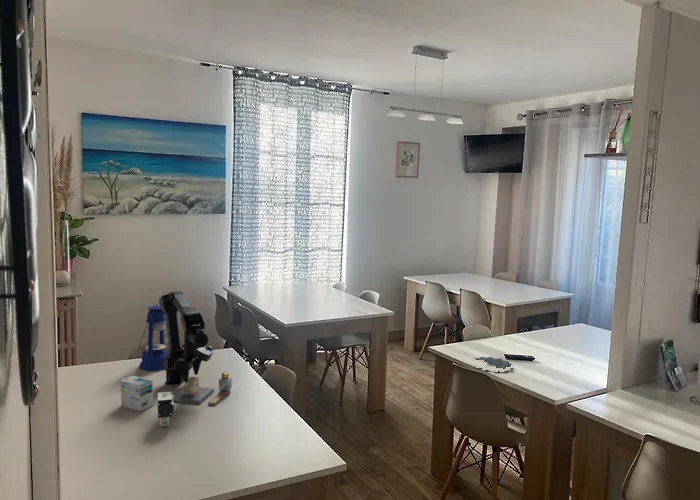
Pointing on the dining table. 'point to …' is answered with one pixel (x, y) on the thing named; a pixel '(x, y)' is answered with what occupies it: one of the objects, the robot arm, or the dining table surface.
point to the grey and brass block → (225, 382)
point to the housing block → (191, 386)
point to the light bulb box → (136, 393)
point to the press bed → (198, 396)
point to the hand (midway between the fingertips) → (191, 378)
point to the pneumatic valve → (165, 407)
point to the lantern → (155, 351)
